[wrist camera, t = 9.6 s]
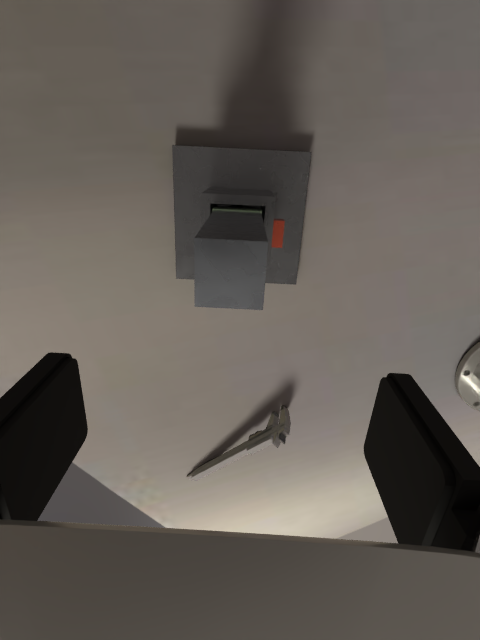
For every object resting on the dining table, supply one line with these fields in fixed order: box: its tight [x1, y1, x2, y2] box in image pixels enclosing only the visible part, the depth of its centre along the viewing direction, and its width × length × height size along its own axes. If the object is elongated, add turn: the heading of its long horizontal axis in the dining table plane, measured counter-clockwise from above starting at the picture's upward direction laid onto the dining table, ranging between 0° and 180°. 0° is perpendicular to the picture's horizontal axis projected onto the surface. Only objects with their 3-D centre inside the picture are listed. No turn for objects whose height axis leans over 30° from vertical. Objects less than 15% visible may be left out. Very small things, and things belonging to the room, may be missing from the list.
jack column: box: [194, 207, 268, 310], centre depth 26 cm, size 4×4×14 cm
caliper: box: [187, 406, 291, 481], centre depth 51 cm, size 20×1×6 cm, turn 134°
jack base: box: [172, 145, 311, 284], centre depth 36 cm, size 14×14×9 cm
